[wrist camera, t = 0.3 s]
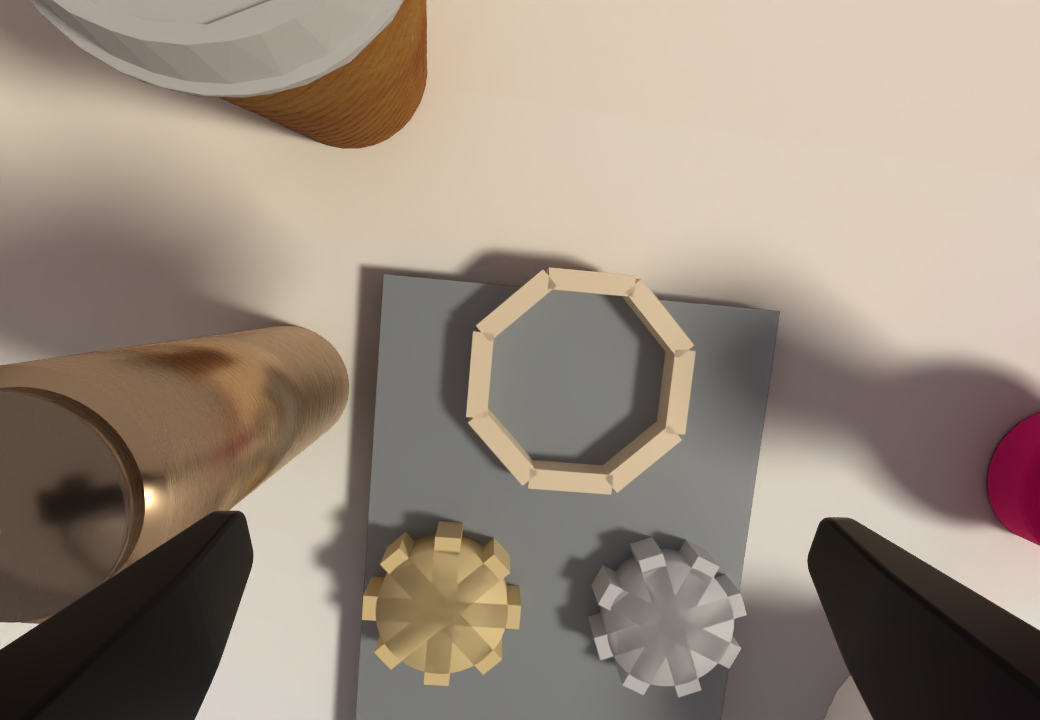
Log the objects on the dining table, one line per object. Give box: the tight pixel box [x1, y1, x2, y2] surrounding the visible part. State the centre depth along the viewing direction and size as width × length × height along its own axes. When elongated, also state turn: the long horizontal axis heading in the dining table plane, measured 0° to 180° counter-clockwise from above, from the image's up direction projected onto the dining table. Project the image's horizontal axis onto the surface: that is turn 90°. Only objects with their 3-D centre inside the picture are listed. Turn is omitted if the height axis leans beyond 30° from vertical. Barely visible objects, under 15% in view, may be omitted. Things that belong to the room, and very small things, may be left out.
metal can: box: [0, 326, 349, 624], centre depth 16 cm, size 5×5×14 cm
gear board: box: [356, 267, 780, 720], centre depth 23 cm, size 23×16×3 cm
